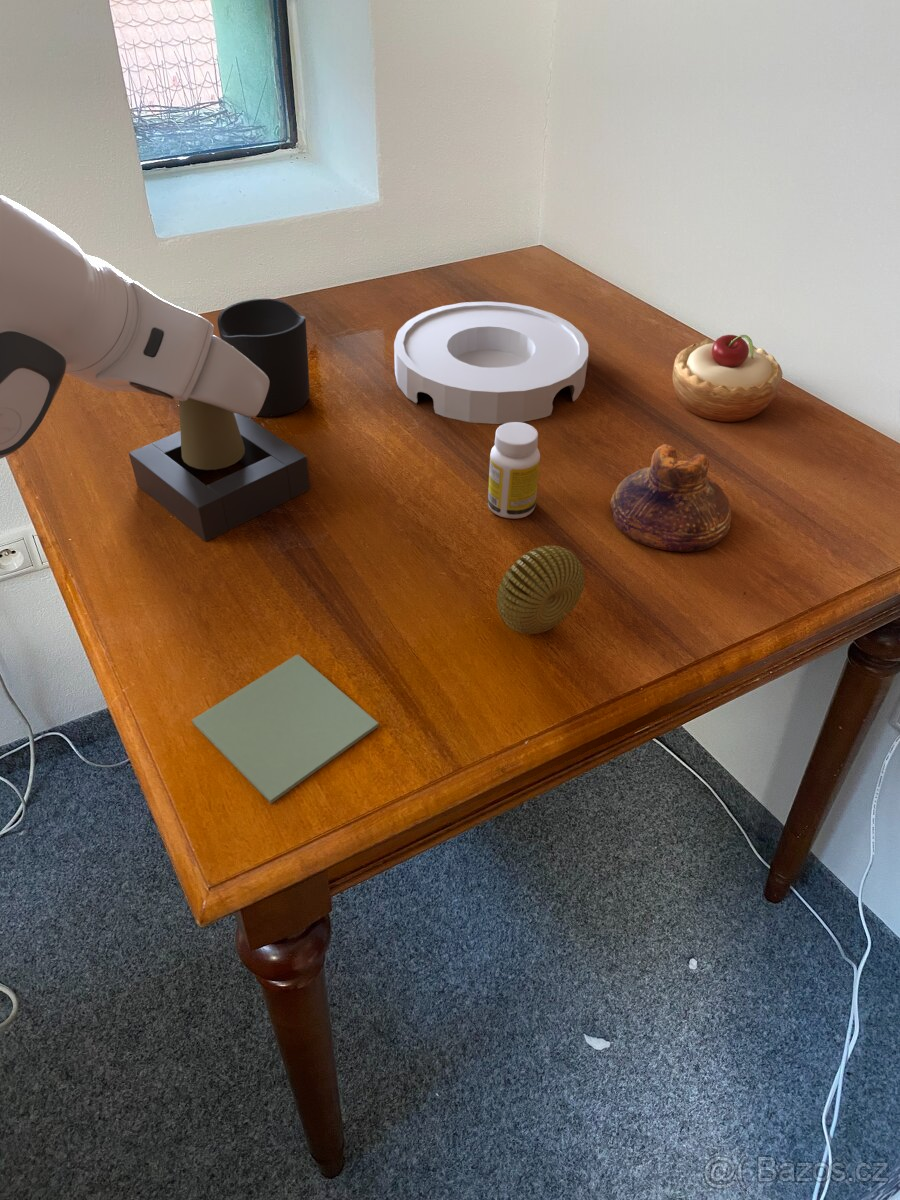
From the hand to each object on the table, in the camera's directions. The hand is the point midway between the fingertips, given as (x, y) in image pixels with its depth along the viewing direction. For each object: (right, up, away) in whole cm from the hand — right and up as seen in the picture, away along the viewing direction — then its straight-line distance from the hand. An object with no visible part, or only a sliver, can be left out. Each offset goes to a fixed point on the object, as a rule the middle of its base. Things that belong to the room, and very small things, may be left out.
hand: (207, 390), depth 82 cm
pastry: (+54, +4, +22) cm, 59 cm away
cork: (0, -5, +4) cm, 7 cm away
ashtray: (+27, +8, +26) cm, 38 cm away
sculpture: (+30, -22, -7) cm, 38 cm away
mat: (+10, -29, -15) cm, 34 cm away
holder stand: (0, -8, +7) cm, 11 cm away
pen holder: (+2, +4, +20) cm, 21 cm away
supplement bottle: (+29, -10, +6) cm, 31 cm away
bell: (+44, -11, +5) cm, 46 cm away
